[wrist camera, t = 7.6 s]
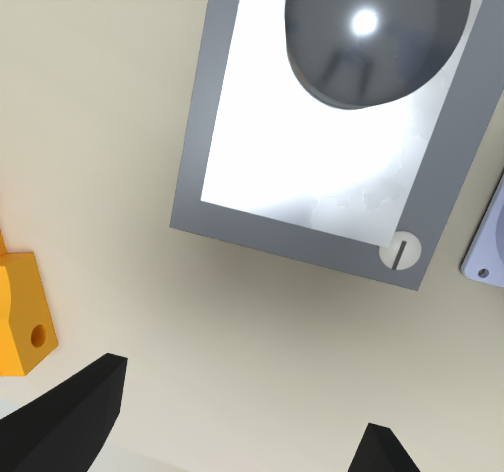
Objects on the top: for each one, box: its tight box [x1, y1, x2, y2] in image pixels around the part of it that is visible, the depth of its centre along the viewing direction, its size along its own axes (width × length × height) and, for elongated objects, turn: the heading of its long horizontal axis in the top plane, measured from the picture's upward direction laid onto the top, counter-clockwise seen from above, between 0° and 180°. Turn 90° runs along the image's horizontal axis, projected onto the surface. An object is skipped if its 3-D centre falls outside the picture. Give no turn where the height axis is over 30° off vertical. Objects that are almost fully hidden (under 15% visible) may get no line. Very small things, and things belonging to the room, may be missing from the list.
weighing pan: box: [201, 0, 483, 248], centre depth 13 cm, size 8×13×1 cm, turn 167°
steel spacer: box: [284, 0, 471, 113], centre depth 10 cm, size 4×4×5 cm
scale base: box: [170, 0, 504, 291], centre depth 15 cm, size 12×15×3 cm
